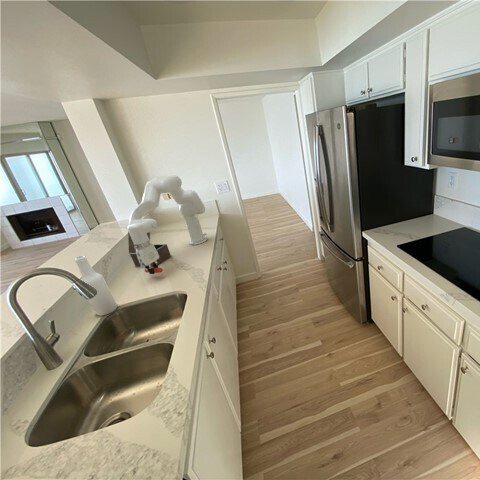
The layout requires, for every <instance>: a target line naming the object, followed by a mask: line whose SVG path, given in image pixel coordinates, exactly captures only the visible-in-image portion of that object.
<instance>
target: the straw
mask: <svg viewBox="0 0 480 480" xmlns="http://www.w3.org/2000/svg"><path fill="white" fill-rule="evenodd" d="M152 268H153V267H152ZM153 270H154V273H155V274H161V273H163V272H164V268H162V267H158V268H153ZM144 272H145V273H146V274H147V273H148V274H149V271H148V269H146V268H144Z"/></svg>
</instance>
